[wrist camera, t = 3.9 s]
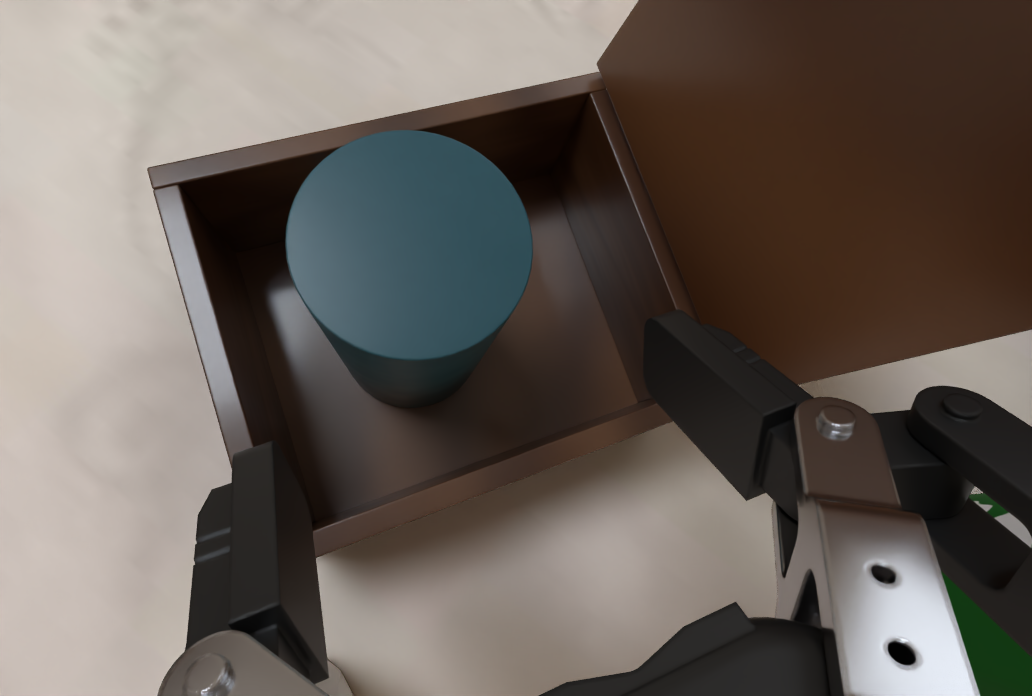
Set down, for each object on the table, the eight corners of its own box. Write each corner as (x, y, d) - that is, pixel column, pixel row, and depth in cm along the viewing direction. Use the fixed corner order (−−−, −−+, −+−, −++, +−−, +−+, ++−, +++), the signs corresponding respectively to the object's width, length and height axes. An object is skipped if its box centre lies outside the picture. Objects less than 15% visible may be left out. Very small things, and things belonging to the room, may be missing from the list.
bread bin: (305, 544, 24) (262, 578, 17) (218, 247, 26) (145, 166, 19) (651, 414, 28) (733, 398, 21) (555, 164, 30) (600, 70, 23)
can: (366, 426, 25) (327, 394, 13) (325, 297, 25) (254, 158, 14) (497, 382, 26) (566, 318, 14) (454, 261, 27) (488, 107, 15)
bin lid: (2354, 18, 4) (2319, 14, 5) (1384, -1120, 6) (1404, -1064, 6) (731, 400, 20) (748, 393, 21) (595, 63, 22) (612, 62, 22)
